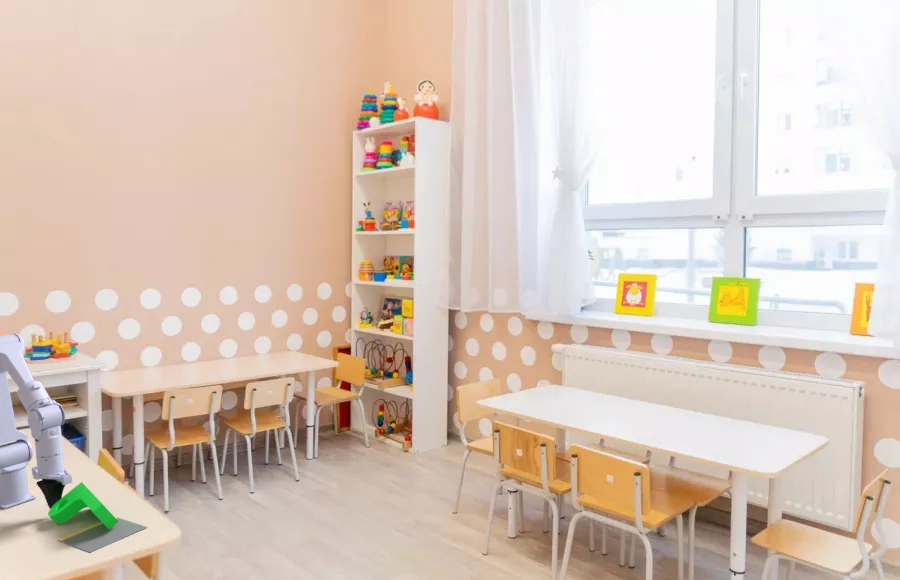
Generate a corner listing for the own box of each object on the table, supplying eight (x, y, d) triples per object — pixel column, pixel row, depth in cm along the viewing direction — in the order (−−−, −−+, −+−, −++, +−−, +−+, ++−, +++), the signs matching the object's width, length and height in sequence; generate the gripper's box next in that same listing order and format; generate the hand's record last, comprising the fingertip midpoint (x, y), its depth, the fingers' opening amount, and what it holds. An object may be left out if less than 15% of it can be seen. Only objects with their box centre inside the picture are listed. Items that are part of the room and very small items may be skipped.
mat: (57, 539, 158) (57, 539, 158) (114, 516, 170) (114, 516, 170) (89, 552, 151) (89, 552, 151) (147, 527, 163) (147, 527, 163)
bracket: (64, 530, 171) (45, 511, 168) (99, 501, 176) (81, 481, 173) (84, 557, 156) (62, 536, 153) (121, 524, 161) (102, 503, 158)
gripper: (17, 454, 170) (22, 507, 171) (49, 463, 162) (54, 519, 163) (46, 445, 176) (51, 497, 177) (78, 454, 168) (83, 508, 169)
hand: (54, 507), depth 171 cm, fingers closed
